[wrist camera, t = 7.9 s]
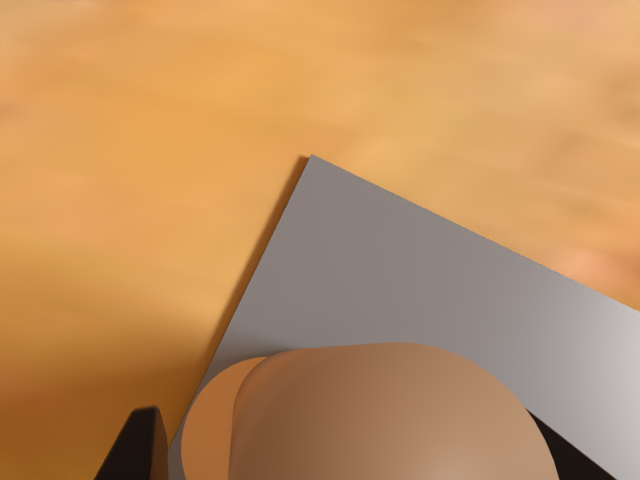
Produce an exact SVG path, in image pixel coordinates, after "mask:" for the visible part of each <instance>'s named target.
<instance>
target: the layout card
mask: <svg viewBox="0 0 640 480" xmlns="http://www.w3.org/2000/svg"><path fill="white" fill-rule="evenodd" d="M386 342H406V343H417V344H423V345H429V346H434V347H437V348H440V349H443V350H446V351H450V352H453V353H455V354H457V355H459V356H461V357H463V358H466V359H468V360H470V361H472V362H473V363H475V364H477V365H478V366H480V367H481V368H483V369H484V370H486V371H487V372H489V373H490V374H492V375H493V376H494V377H495V378H496V379H498V380H499V381H500V382H501V383H502V384H504V385H505V386H506V387H507V388H508V389H509V390H510V391H511V392H512V394H513V395H514V396H515V397H516V398H517V399H518V400H519V401H520V402H521V403H522V405H523V406H524V407H525V408H526V409H528V410H529V411H530V412H531V413H533V414H534V415H535V416H536V417H538V418H539V419H540V420H542V421H543V422H544V423H545V424H547V425H548V426H549V427H551V428H552V429H553V430H554V431H556V432H557V433H558V434H559V435H561V436H562V437H563V438H565V439H566V440H567V441H568V442H570V443H571V444H572V445H574V446H575V447H576V448H577V449H579V450H580V451H581V452H582V453H584V454H585V455H586V456H588V457H589V458H590V459H591V460H593V461H594V462H595V463H597V464H598V465H599V466H600V467H602V468H603V469H604V470H605V471H607V472H608V473H609V474H611V475H612V476H613V477H614V478H616V479H617V480H640V312H638V311H636V310H634V309H632V308H630V307H628V306H626V305H624V304H622V303H620V302H618V301H616V300H614V299H611V298H609V297H607V296H605V295H603V294H601V293H599V292H597V291H595V290H593V289H591V288H589V287H587V286H584V285H582V284H580V283H578V282H576V281H574V280H572V279H570V278H568V277H566V276H564V275H562V274H560V273H557V272H555V271H553V270H551V269H549V268H547V267H545V266H543V265H541V264H539V263H537V262H535V261H533V260H530V259H528V258H526V257H524V256H522V255H520V254H518V253H516V252H514V251H512V250H510V249H508V248H506V247H503V246H501V245H499V244H497V243H495V242H493V241H491V240H489V239H487V238H485V237H483V236H481V235H479V234H476V233H474V232H472V231H470V230H468V229H466V228H464V227H462V226H460V225H458V224H456V223H454V222H452V221H449V220H447V219H445V218H443V217H441V216H439V215H437V214H435V213H433V212H431V211H429V210H427V209H425V208H422V207H420V206H418V205H416V204H414V203H412V202H410V201H408V200H406V199H404V198H402V197H400V196H398V195H396V194H393V193H391V192H389V191H387V190H385V189H383V188H381V187H379V186H377V185H375V184H373V183H371V182H369V181H366V180H364V179H362V178H360V177H358V176H356V175H354V174H352V173H350V172H348V171H346V170H344V169H342V168H339V167H337V166H335V165H333V164H331V163H329V162H327V161H325V160H323V159H321V158H319V157H317V156H315V155H312V154H311V156H310V158H309V160H308V163H307V165H306V167H305V169H304V171H303V173H302V175H301V177H300V179H299V181H298V183H297V185H296V187H295V189H294V191H293V193H292V196H291V198H290V200H289V202H288V204H287V206H286V208H285V210H284V212H283V214H282V216H281V218H280V220H279V222H278V224H277V226H276V229H275V231H274V233H273V235H272V237H271V239H270V241H269V243H268V245H267V247H266V249H265V251H264V253H263V255H262V257H261V260H260V262H259V264H258V266H257V268H256V270H255V272H254V274H253V276H252V278H251V280H250V282H249V284H248V286H247V288H246V290H245V293H244V295H243V297H242V299H241V301H240V303H239V305H238V307H237V309H236V311H235V313H234V315H233V317H232V319H231V321H230V324H229V326H228V328H227V330H226V332H225V334H224V336H223V338H222V340H221V342H220V344H219V346H218V348H217V350H216V352H215V354H214V357H213V359H212V361H211V363H210V365H209V367H208V369H207V371H206V373H205V375H204V377H203V379H202V381H201V383H200V385H199V387H198V390H197V392H196V394H195V396H194V398H193V400H192V402H191V404H190V406H189V408H188V410H187V412H186V414H185V416H184V418H183V421H182V423H181V425H180V427H179V429H178V431H177V433H176V435H175V437H174V439H173V441H172V443H171V445H170V447H169V449H168V476H169V480H228V472H229V458H230V445H231V431H232V418H233V407H234V402H235V398H236V395H237V392H238V390H239V388H240V386H241V384H242V382H243V380H244V379H245V377H246V376H247V375H248V373H249V372H250V371H251V370H252V369H253V368H254V367H255V366H256V365H257V364H258V363H260V362H261V361H262V360H264V359H265V358H267V357H269V356H271V355H273V354H276V353H278V352H282V351H286V350H293V349H305V348H318V347H332V346H345V345H359V344H372V343H386Z"/></svg>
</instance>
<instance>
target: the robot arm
mask: <svg viewBox="0 0 640 480" xmlns="http://www.w3.org/2000/svg"><path fill="white" fill-rule="evenodd" d="M525 409H526V408H525ZM526 410H527V412H528V413H529V414H530V416H531V417H532V418H533V420H534V421H535V423H536V425H537V427H538V429H539V430H540V432H541V434H542V436H543V437H544V439H545V441H546V444H547V446H548V448H549V451H550V453H551V456H552V458H553V460H554V463H555V467H556V470H557V474H558V477H559V480H617V479H616V478H614V477H613V476H612V475H611V474H609V473H608V472H607V471H605V470H604V469H603V468H602V467H600V466H599V465H598V464H597V463H595V462H594V461H593V460H591V459H590V458H589V457H588V456H586V455H585V454H584V453H582V452H581V451H580V450H579V449H577V448H576V447H575V446H574V445H572V444H571V443H570V442H568V441H567V440H566V439H565V438H563V437H562V436H561V435H559V434H558V433H557V432H556V431H554V430H553V429H552V428H551V427H549V426H548V425H547V424H545V423H544V422H543V421H542V420H540V419H539V418H538V417H536V416H535V415H534V414H533V413H531V412H530V411H529V410H528V409H526ZM94 480H169V476H168V448H167V437H166V432H165V428H164V425H163V421H162V417H161V414H160V410H159V408H158V407H157V406H156V405H151V406H145V407H139V408H136V409H134V410H133V411H132V412H131V413H130V415H129V417H128V419H127V420H126V422H125V424H124V426H123V428H122V429H121V431H120V433H119V435H118V437H117V438H116V440H115V442H114V444H113V446H112V448H111V449H110V451H109V453H108V455H107V457H106V458H105V460H104V462H103V464H102V466H101V467H100V469H99V471H98V473H97V475H96V476H95V478H94Z"/></svg>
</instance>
